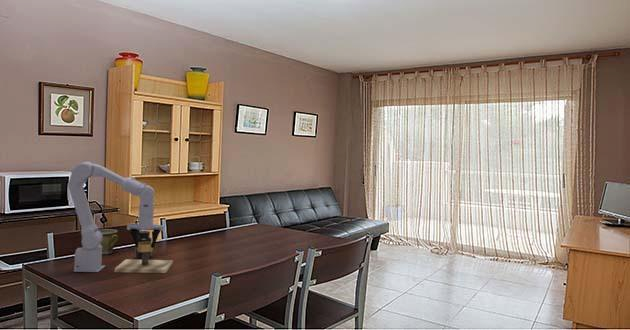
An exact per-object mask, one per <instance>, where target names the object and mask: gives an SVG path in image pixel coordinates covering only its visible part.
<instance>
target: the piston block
mask: <svg viewBox="0 0 630 330" xmlns="http://www.w3.org/2000/svg"><path fill="white" fill-rule="evenodd" d="M173 263H174V260H173V259H172V260H171V259H150V258H149V253H142V259H135V258H134V259H133V258H132V259H130V258H129V259H127V258H126V259H124V260H123V261H122V262H121V263H120V264H119V265H117V266H115V268H114V273H138V274H139V273H144V274H145V273H147V274H148V273H149V274H156V273H157V274H167V272H168V271H169V270H170V268H171V266H172V265H173Z"/></svg>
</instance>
